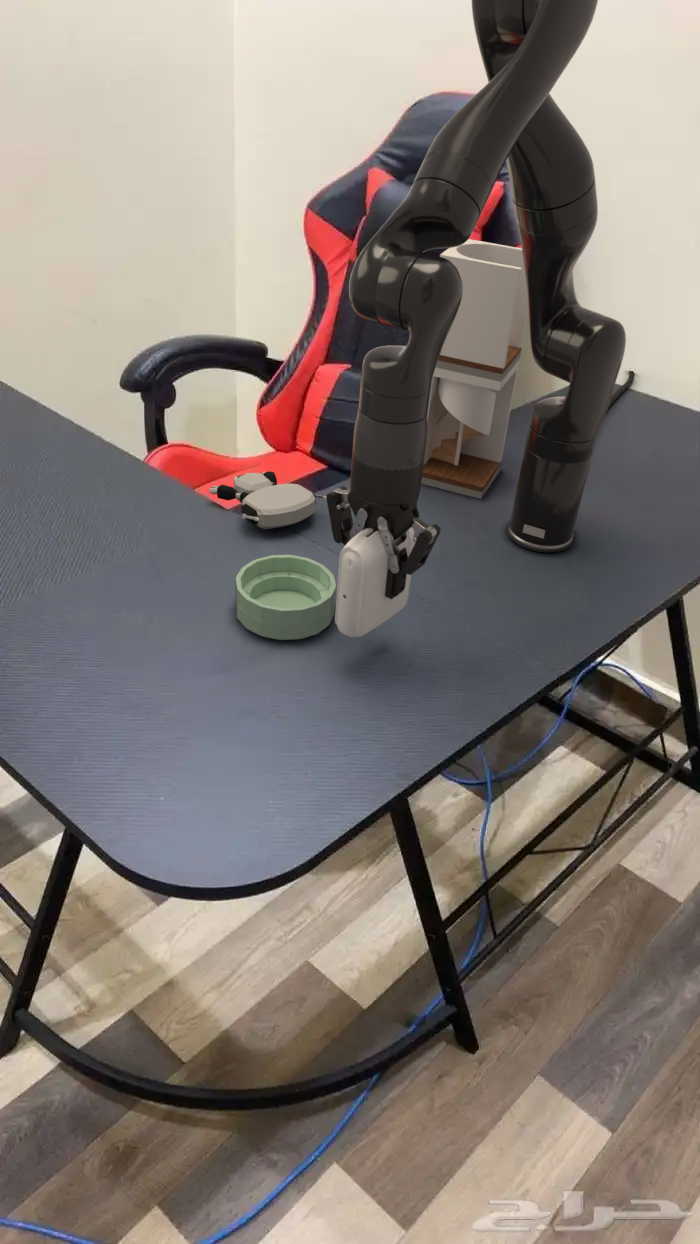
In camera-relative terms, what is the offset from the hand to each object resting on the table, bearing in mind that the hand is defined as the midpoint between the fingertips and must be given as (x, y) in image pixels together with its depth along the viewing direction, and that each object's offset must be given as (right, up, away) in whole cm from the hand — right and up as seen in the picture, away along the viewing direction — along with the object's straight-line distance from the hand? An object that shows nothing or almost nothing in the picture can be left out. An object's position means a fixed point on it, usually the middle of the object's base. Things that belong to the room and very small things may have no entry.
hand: (374, 586), depth 108 cm
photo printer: (0, -4, +3) cm, 5 cm away
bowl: (-11, -3, +12) cm, 16 cm away
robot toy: (-15, +12, +32) cm, 37 cm away
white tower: (+14, +19, +46) cm, 52 cm away
